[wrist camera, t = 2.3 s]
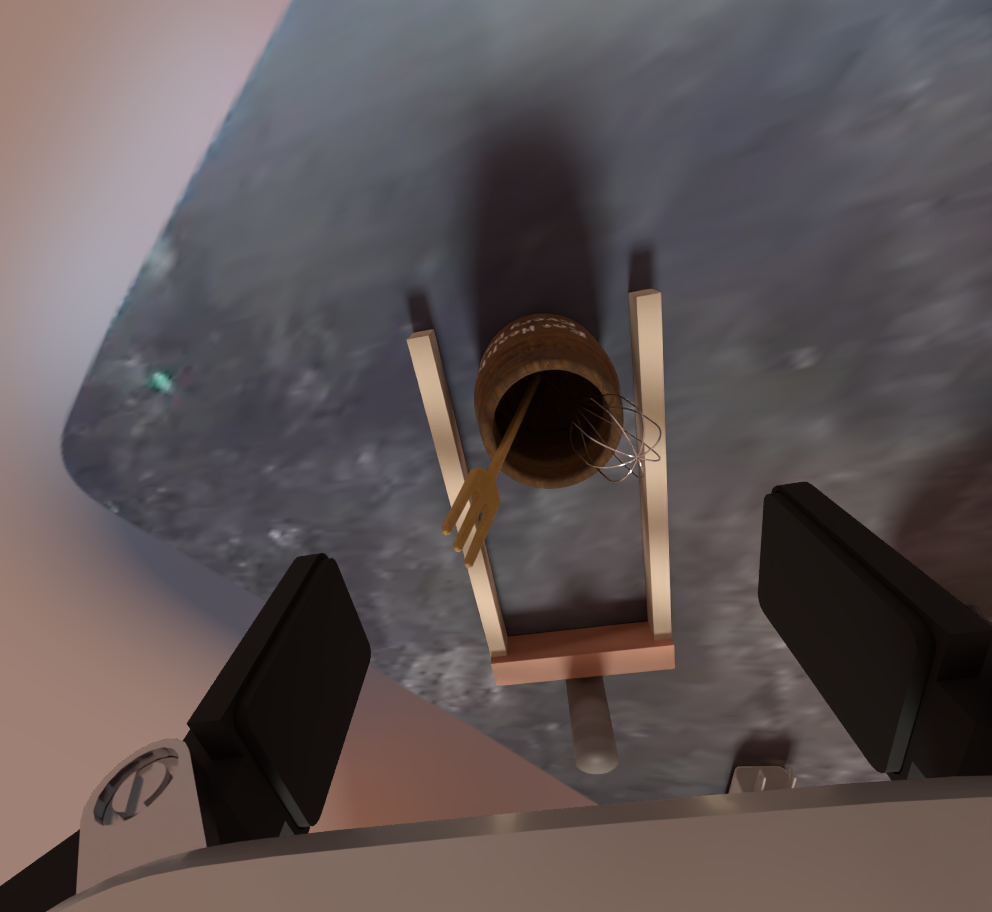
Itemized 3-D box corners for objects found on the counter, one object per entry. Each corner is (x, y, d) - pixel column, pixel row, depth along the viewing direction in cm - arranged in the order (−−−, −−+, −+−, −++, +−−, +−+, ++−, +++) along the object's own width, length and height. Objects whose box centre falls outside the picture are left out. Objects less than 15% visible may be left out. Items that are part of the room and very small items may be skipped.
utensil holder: (621, 397, 23) (718, 546, 12) (508, 449, 24) (504, 623, 14) (573, 285, 21) (639, 344, 10) (452, 349, 22) (394, 463, 11)
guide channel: (413, 332, 22) (380, 366, 16) (651, 288, 21) (700, 309, 15) (505, 689, 32) (504, 780, 27) (666, 673, 31) (698, 766, 26)
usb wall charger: (722, 798, 37) (744, 858, 34) (736, 744, 34) (762, 804, 31) (773, 798, 37) (801, 859, 34) (792, 744, 34) (824, 804, 31)
